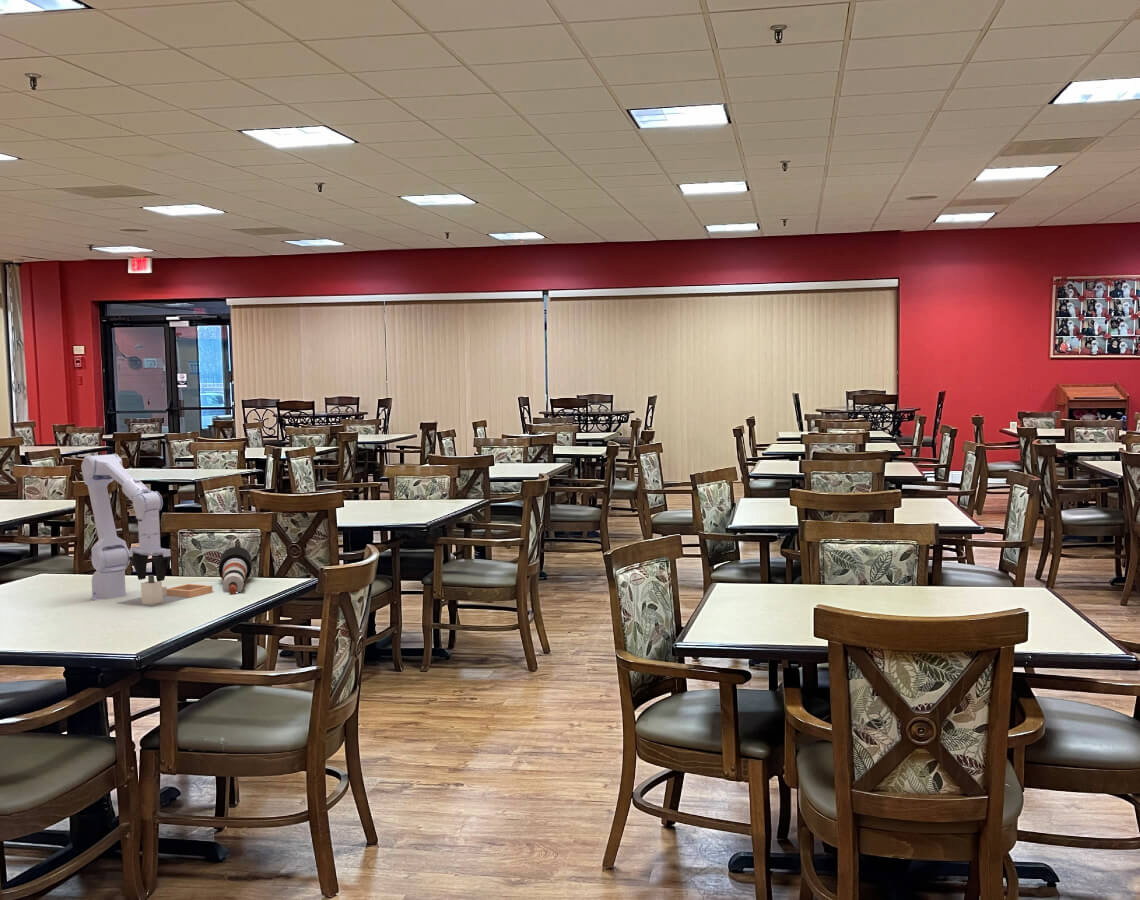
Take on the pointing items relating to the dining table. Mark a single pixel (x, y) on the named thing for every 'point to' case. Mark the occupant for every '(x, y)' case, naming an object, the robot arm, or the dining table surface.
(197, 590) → the frame
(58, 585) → the dining table surface
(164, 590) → the clip
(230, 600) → the dining table surface
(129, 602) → the board
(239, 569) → the cable
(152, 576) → the connector
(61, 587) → the dining table surface
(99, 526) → the robot arm
